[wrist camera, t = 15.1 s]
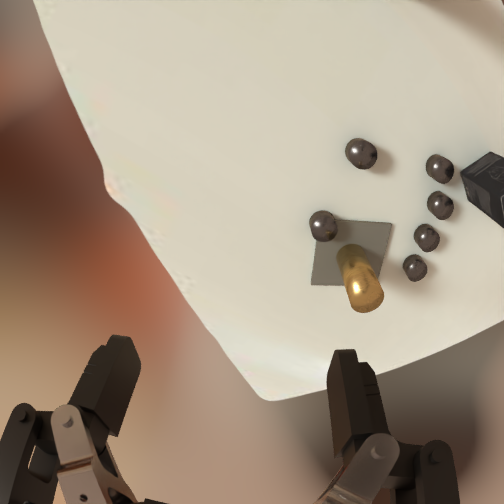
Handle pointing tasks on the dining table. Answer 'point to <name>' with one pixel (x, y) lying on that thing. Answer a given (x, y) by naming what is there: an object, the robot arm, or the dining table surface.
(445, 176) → the spacers
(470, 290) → the dining table surface
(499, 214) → the box
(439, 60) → the dining table surface
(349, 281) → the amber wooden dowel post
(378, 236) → the pad
